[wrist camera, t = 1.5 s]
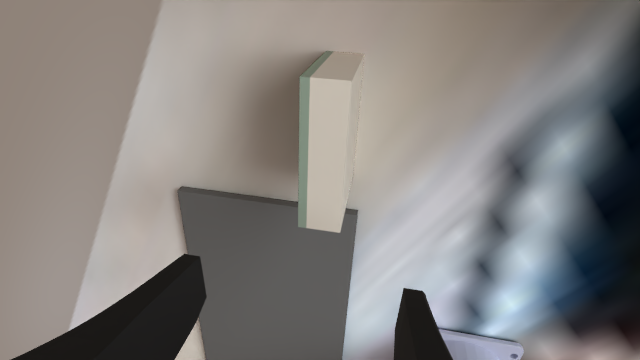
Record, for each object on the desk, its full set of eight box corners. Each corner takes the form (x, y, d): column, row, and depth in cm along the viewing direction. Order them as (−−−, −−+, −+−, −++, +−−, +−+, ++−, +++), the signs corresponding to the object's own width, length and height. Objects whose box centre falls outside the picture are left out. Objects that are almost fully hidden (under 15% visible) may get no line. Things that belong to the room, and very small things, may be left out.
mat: (337, 396, 33) (336, 403, 32) (211, 370, 35) (209, 376, 34) (357, 210, 23) (356, 215, 23) (182, 186, 25) (177, 190, 24)
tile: (353, 174, 22) (340, 232, 17) (320, 170, 22) (298, 226, 17) (364, 53, 19) (352, 81, 14) (326, 51, 19) (299, 76, 14)
